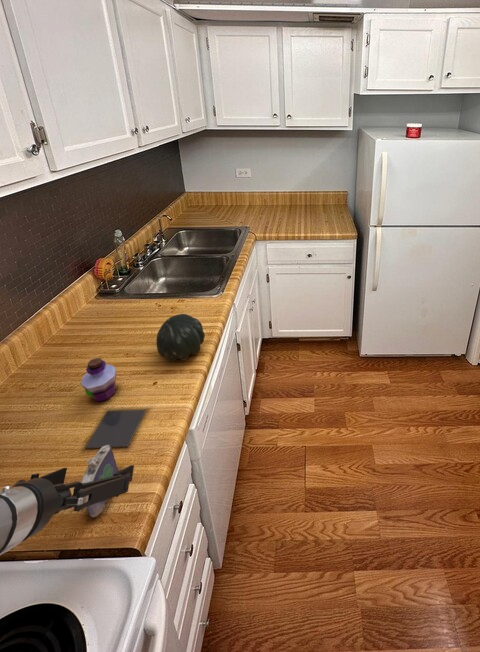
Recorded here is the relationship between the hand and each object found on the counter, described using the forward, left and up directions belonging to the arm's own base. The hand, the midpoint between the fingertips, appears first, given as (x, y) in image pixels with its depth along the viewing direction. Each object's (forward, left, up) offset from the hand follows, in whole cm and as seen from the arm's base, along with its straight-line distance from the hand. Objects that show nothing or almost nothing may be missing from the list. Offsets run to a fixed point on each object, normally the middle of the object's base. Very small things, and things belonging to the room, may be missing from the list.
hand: (97, 474), depth 68 cm
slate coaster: (-5, +15, -6) cm, 17 cm away
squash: (+3, +43, -7) cm, 43 cm away
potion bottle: (-14, +26, -7) cm, 31 cm away
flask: (0, 0, -7) cm, 7 cm away
